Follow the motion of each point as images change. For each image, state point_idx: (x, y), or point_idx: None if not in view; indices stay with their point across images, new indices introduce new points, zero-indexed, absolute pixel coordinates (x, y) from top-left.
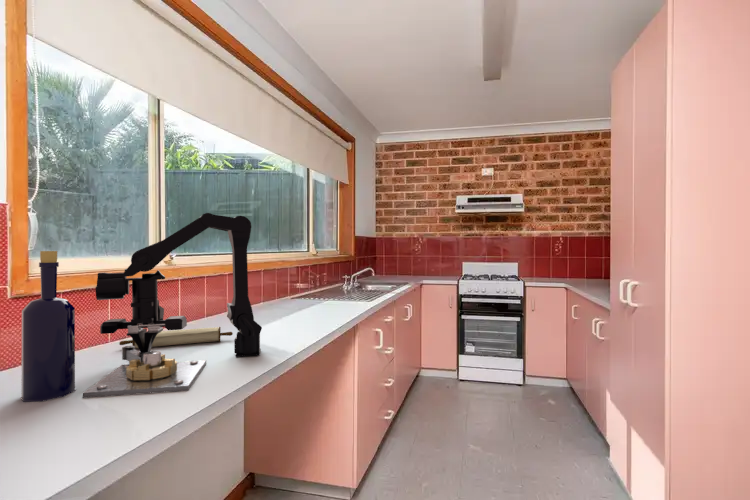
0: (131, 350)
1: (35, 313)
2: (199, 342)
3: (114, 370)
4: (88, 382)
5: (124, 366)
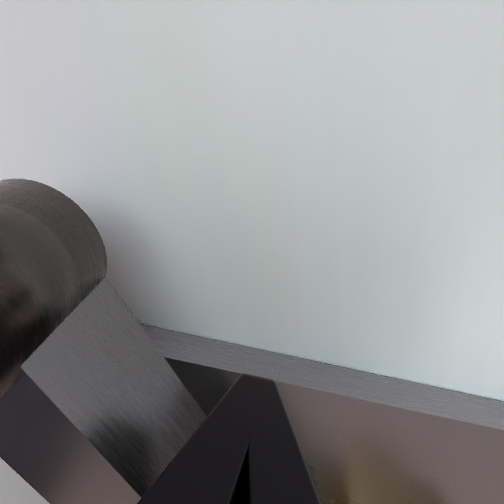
0: (31, 442)
1: None
2: None
3: None
4: (4, 489)
5: None
